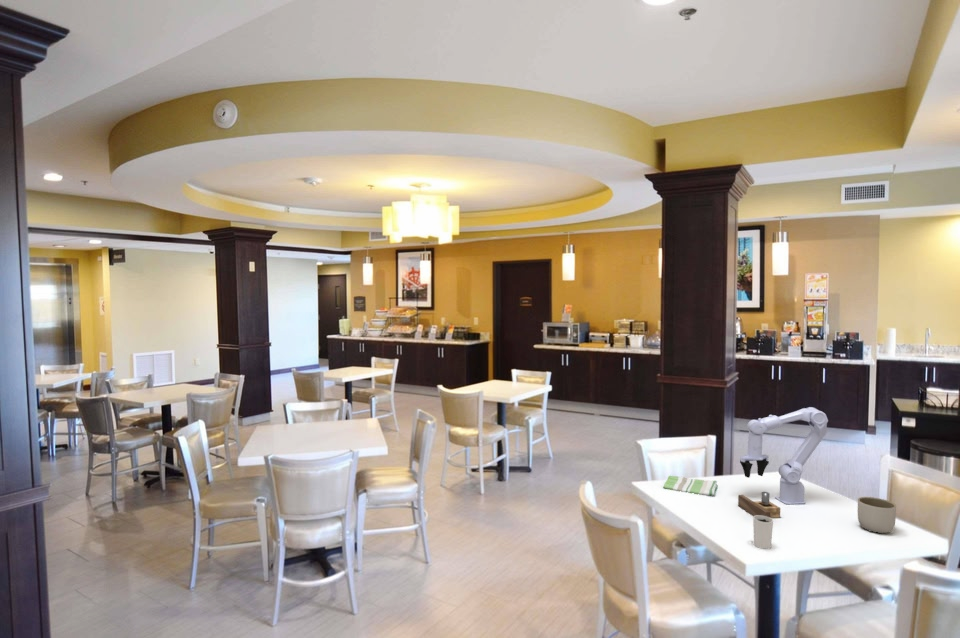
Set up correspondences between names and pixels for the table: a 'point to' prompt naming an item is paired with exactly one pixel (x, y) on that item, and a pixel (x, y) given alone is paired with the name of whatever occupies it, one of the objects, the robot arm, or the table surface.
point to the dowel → (765, 499)
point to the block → (771, 509)
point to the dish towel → (691, 485)
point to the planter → (876, 514)
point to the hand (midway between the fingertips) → (753, 476)
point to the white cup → (762, 531)
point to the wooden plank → (751, 506)
